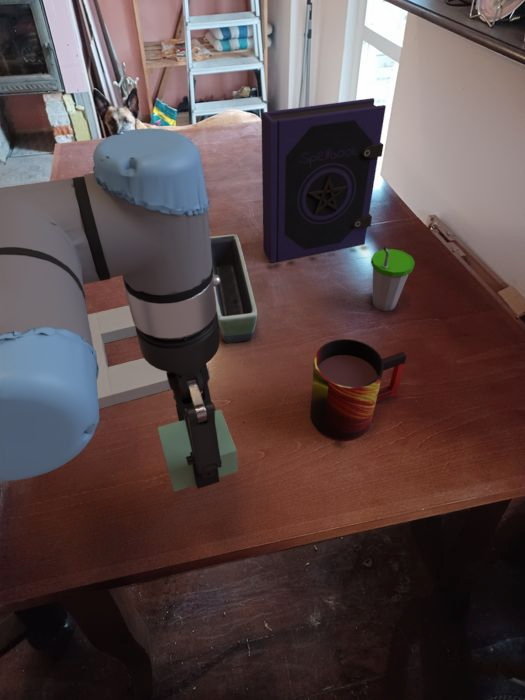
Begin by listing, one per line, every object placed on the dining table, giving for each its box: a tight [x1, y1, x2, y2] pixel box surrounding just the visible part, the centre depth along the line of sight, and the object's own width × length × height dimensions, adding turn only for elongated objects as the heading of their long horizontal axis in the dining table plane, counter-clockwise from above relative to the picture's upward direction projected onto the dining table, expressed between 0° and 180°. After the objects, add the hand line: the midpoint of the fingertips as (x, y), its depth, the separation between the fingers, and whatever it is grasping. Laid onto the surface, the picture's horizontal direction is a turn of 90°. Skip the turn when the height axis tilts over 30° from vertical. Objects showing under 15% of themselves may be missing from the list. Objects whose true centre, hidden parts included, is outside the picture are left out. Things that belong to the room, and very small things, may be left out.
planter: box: [210, 233, 258, 344], centre depth 94 cm, size 28×7×7 cm, turn 10°
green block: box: [156, 409, 239, 493], centre depth 58 cm, size 8×6×4 cm
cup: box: [370, 246, 416, 312], centre depth 90 cm, size 8×8×15 cm
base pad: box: [87, 304, 211, 410], centre depth 85 cm, size 22×22×2 cm
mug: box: [309, 338, 407, 442], centre depth 72 cm, size 10×14×12 cm
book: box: [260, 97, 387, 264], centre depth 100 cm, size 24×6×30 cm, turn 109°
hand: (200, 458), depth 59 cm, fingers closed on green block, 6 cm apart
